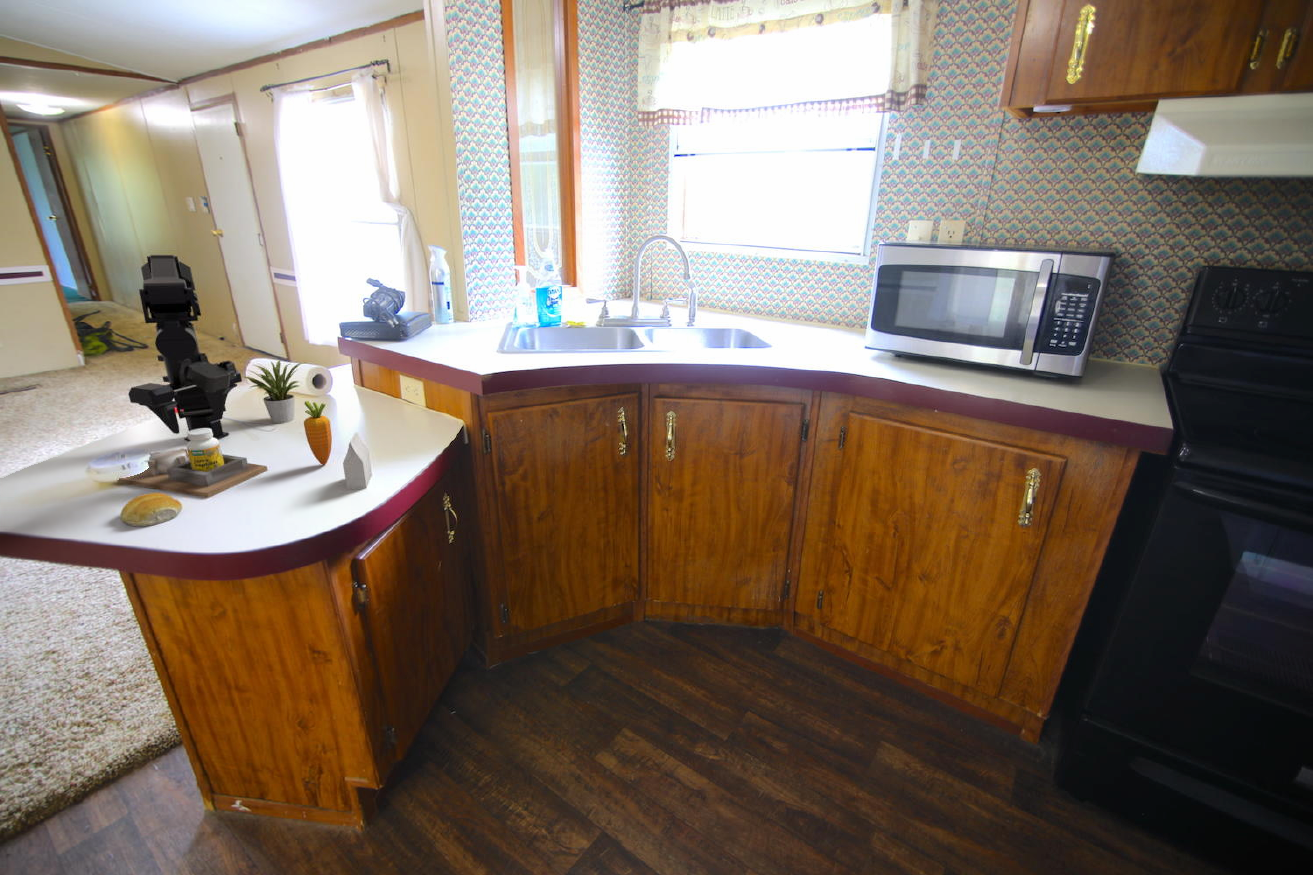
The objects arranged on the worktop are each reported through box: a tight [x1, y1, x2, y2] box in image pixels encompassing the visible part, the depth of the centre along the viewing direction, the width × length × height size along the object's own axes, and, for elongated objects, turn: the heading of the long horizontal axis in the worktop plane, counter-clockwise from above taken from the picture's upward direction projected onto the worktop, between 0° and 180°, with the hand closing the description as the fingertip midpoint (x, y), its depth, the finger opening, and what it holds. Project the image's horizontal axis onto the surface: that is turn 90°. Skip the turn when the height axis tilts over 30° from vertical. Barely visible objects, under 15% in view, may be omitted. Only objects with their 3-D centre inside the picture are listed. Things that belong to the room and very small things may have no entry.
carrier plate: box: [117, 448, 268, 499], centre depth 123 cm, size 22×14×4 cm, turn 77°
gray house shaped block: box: [342, 432, 373, 490], centre depth 123 cm, size 4×7×10 cm, turn 16°
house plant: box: [243, 359, 307, 424], centre depth 156 cm, size 14×14×16 cm
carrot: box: [303, 400, 333, 466], centre depth 129 cm, size 5×5×15 cm
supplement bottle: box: [186, 428, 224, 472], centre depth 121 cm, size 5×5×10 cm
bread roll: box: [120, 492, 183, 527], centre depth 107 cm, size 8×9×4 cm
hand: (198, 426), depth 119 cm, fingers open, 9 cm apart
